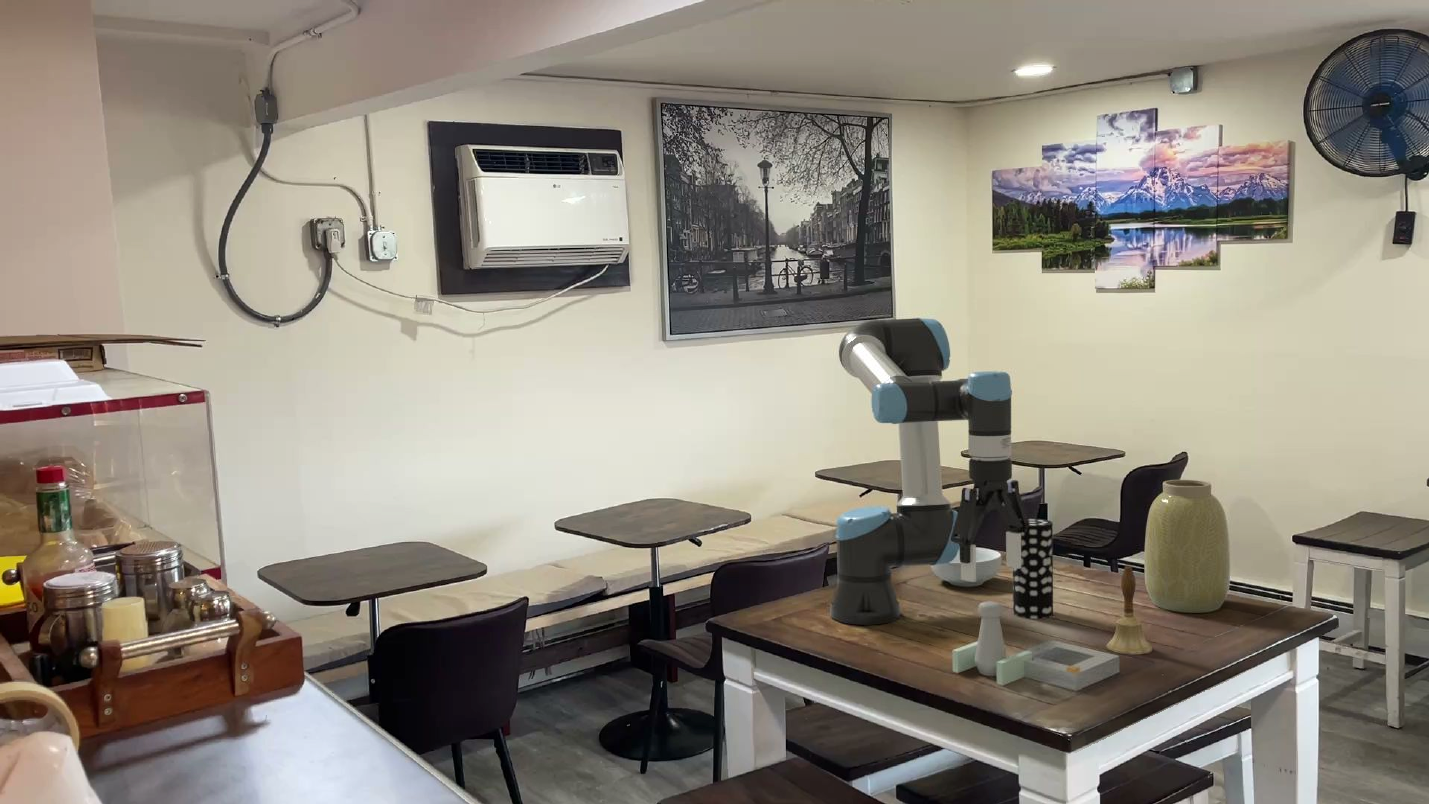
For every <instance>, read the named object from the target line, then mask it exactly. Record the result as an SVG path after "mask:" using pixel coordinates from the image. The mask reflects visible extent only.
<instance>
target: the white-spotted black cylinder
mask: <svg viewBox="0 0 1429 804" xmlns="http://www.w3.org/2000/svg"><path fill="white" fill-rule="evenodd" d="M1020 520H1022V519H1020ZM1028 520H1029V527H1027V532H1026V533H1023V532H1022V533H1021V535H1022V540H1021V541H1022V542H1021V543H1022V546H1021V568H1020V569H1018V568H1012V611H1013V613H1012V614H1013V615H1015V616H1016V617H1018V618H1024V619H1031V620H1032V619H1034V620H1038V619H1039V620H1041V619H1047V618H1052V616H1054V563H1053V562H1054V560H1053V559H1054V555H1053V554H1054V553H1053V552H1054V546H1053V545H1054V544H1053V543H1054V541H1053V540H1054V537H1053V535H1054V534H1053V530H1054V529H1053V521H1051V520H1049V519H1043V518H1042V519H1041V518H1028Z"/></svg>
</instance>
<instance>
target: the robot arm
mask: <svg viewBox="0 0 1429 804" xmlns="http://www.w3.org/2000/svg"><path fill="white" fill-rule="evenodd" d="M838 348H839V349H838V356H839V357H838V358H839V362H840V364H841V366H842V367H843V368H844V370H845V371H846V372H847V373H848V375H850V376H852V377H854V378H856V379H858V380H860V381H861V383H862V384H863V385H864V387H865V388H866V389H867V390H868V391H869V393H870V394H871V402H870V403H871V410H872V413H873V417H874V419H875V421H876V422H878V423H879V424H893V425H898V437H899V455H900V467H901V488H902V497H901V499H899V501H897V503H896V512H894V513H893V512H891V510H890V508H889V507H886V506H880V505H879V506H863V507H859V508H854V509H850V510H848V511H845V512H844V513H841V515H839V516H838V518H837V521H836V529H835V531H836V533H835V540H836V563H837V582H836V584H835V589H834V592H833V596H832V601H831V603H830V604H829V605H830V609H829V612H830V618H832V619H834V620H835V621H836V622H837V621H838V622H842V623H845V624H849V625H850V624H851V625H862V626H863V625H864V626H865V625H867V626H868V625H882V624H887V623H891V622H893V621H896V620H898V619H899V618H900V617H901V606H900V602H899V601H898V599H897V594H896V592H895V589H894V586H893V582H892V581H893V580H892V568H901V567H915V566H917V567H919V566H931V565H932V566H934V565H936V564H945V563H949V562H951V561H952V560H954V558H955V557H956V555H957V553H958V551H959V548H960V562H961V580H966V581H971V582H975V581H976V548H977V546H976V544H973V542H974V541H975V538H976V535H977V534H978V532H979V530H980V527H981V525H982V523H983V521H984V519H985V516H986V515H988V514H989V513H990V511H993V510H995V509H996V510H997V511H998V514H999V515H1000V517H1001V518H1002V519H1003V522H1004V523H1005V525H1006V526H1007V529H1008V531H1005V547H1006V550H1005V552H1006V553H1005V554H1006V555H1005V557H1006V561H1005V562H1006V567H1008V568H1012V569H1013V568H1018V569H1020V568H1021V546H1022V543H1021V542H1022V541H1021V540H1022V535H1021V533H1022V532H1023V533H1026V532H1027V527H1029V520H1028V519H1029V518H1028V515H1027V512H1026V509H1025V506H1024V502H1023V499H1022V496H1021V493H1020V486H1019V480H1016V479H1012V478H1013V462H1012V461H1013V460H1012V459H1011V458H1009V457H1010V456H1011V455H1012V395H1013V390H1012V387H1011V386H1012V384H1011V376H1010V374H1009V373H1007V372H1006V371H998V370H997V371H996V370H995V371H994V370H993V371H992V370H991V371H974V372H973V371H972V372H971V373H970V374H969V375H968V377H967V378H958V379H955V380H941V379H943V372H944V371H946V370H948V368H949V365H950V363H951V362H950V361H951V360H950V357H951V349H950V348H951V346H950V342H949V338H948V334H947V332H946V329H945V327H943V325H942V324H941V322H940V321H938V320H937V319H935V318H921V317H915V318H899V319H898V318H897V319H896V318H895V319H872V320H871V319H870V320H867V321H863V322H861V323H859V324H857V325H855V326H854V327H852V328H851V329H849V331H848V332H847V333H846V334H845V335H844V336H843V338H842V340H841V342H840V344H839V347H838ZM949 421H950V422H952V421H955V422H956V421H968V424H967V425H968V430H967V431H968V435H967V436H968V437H967V438H968V444H967V445H968V447H967V448H968V449H967V450H968V451H967V452H968V455H969V456H970V457H971V458H969V460H968V477H969V479H970V480H972V482H973V487H972V488H968V487H963V488H962V489H961V497H960V498H961V501H960V503H959V507H958V511H956V510H954V509H953V508H952V509H951V501H949V499H947V498H946V497H945V496H944V494H943V480H942V467H941V466H942V465H941V451H940V450H941V449H940V448H941V447H940V435H939V422H949ZM1020 519H1022V520H1020Z"/></svg>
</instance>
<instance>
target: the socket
mask: <svg viewBox="0 0 1429 804" xmlns="http://www.w3.org/2000/svg"><path fill="white" fill-rule="evenodd" d="M1024 651H1029V652H1032V658H1029V659H1027V660H1024V677H1023V678H1025V679H1026V678H1027V679H1030V680H1035V681H1036V682H1037V681H1038V682H1042V683H1046V684H1049V685H1053V686H1056V687H1060V688H1064V689H1068V690H1070V691H1073V692H1074V691H1075V692H1077V691H1079V690H1082V689H1084V688H1086V687H1088V686H1091V685H1093V684H1095V683H1098V682H1100V681H1103V680H1104V679H1107V678H1109V677H1111V676H1114V675H1116V674H1118V673H1120V655H1116V654H1113V653H1108V652H1103V651H1100V650H1096V649H1091V648H1087V647H1084V646H1083V647H1082V646H1079V645H1074V644H1071V643H1067V642H1066V643H1065V642H1061V641H1056V640H1054V639H1050V640H1048V641H1045V642H1043V643H1039V644H1037V645H1035V646H1032V647H1028V648H1027V649H1024V650H1021V651H1019V652H1015V653H1013V654H1010V655H1008V656H1007V658H1008V657H1011V656H1014V655H1016V654H1019V653H1022V652H1024Z"/></svg>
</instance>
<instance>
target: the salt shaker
mask: <svg viewBox="0 0 1429 804" xmlns="http://www.w3.org/2000/svg"><path fill="white" fill-rule="evenodd" d="M977 612H978V615H979V616H981V620H980V626H979V632H978V634H979V635H978V638H977V641H978V644H977V649H976V654H975V663H976V665H977V666H976V668H977V670H978V672H979V674H981V675H983V676H986V677H997V663H996V662H998V661H1000V660H1003V659H1006V658H1008V656H1007V652H1006V647H1005V641H1004V637H1003V636H1004V635H1003V632H1002V631H1003V630H1002V625H1001V620H1000V617H1002V616H1003V607H1002V605H1001V603H999V602H996V601H990V600H989V601H988V600H987V601H982V602H981V603H979V604H978V611H977Z"/></svg>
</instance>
